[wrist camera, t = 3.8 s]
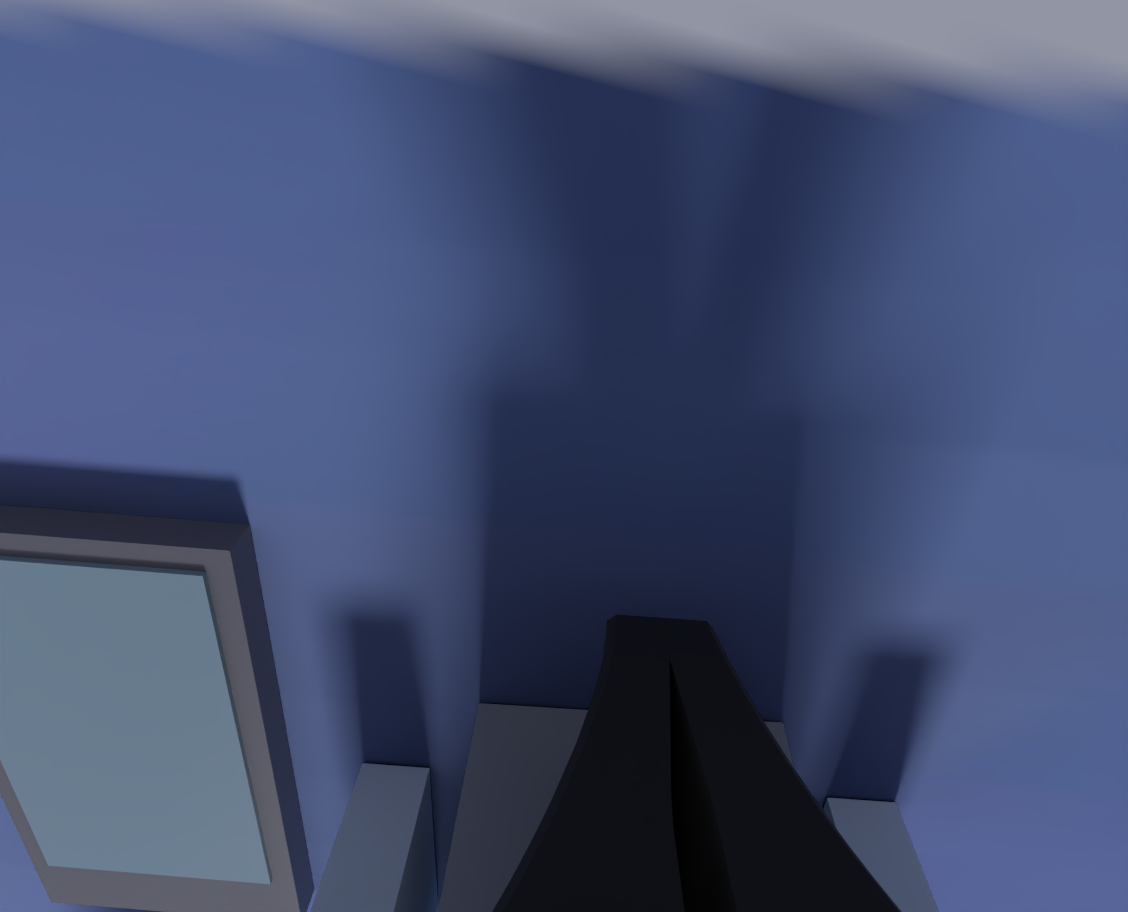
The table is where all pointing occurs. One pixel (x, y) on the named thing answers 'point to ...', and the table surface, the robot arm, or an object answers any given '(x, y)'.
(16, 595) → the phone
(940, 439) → the table surface
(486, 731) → the cube
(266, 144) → the table surface
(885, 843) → the socket rails
